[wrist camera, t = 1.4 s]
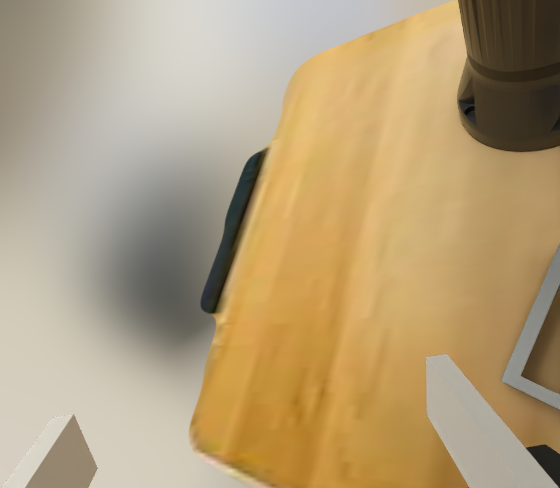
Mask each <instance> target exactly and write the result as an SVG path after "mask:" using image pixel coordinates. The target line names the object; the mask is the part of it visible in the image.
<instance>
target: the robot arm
mask: <svg viewBox="0 0 560 488" xmlns="http://www.w3.org/2000/svg"><path fill="white" fill-rule="evenodd" d="M458 2H459V8H460V14H461V20H462V26H463V32H464V38H465V44H466V49H467V59H466V63H465V67H464V70H463V74H462V77H461V81H460V84H459V88H458V95H457V104H458V109H459V114H460V118H461V121H462V124H463V126H464V127H465V129H466V130H467V132H468V133H469V134H470V135H471V136H472V137H474V138H475V139H476V140H478V141H480V142H481V143H483V144H486V145H488V146H491V147H494V148H498V149H503V150H510V151H531V150H540V149H545V148H550V147H554V146H558V145H560V0H458ZM426 385H427V416H428V418H429V420H430V421H431V423H432V425H433V426H434V428H435V430H436V432H437V433H438V435H439V437H440V438H441V440H442V442H443V443H444V445H445V447H446V449H447V450H448V452H449V454H450V455H451V457H452V459H453V460H454V462H455V464H456V466H457V467H458V469H459V471H460V472H461V474H462V476H463V478H464V479H465V481H466V483H467V484H468V486H469V488H560V454H559V453H557V452H556V451H554V450H553V449H551V448H550V447H548V446H547V445H539V446H533V447H527V448H525V447H524V446H523V444H522V443H521V442H520V441H519V440H518V438H517V437H516V436H515V435H514V434H513V432H512V431H511V430H510V429H509V428H508V426H507V425H506V424H505V423H504V422H503V421H502V419H501V418H500V417H499V416H498V415H497V413H496V412H495V411H494V410H493V409H492V407H491V406H490V405H489V404H488V403H487V401H486V400H485V399H484V398H483V397H482V395H481V394H480V393H479V392H478V391H477V389H476V388H475V387H474V386H473V385H472V384H471V382H470V381H469V380H468V379H467V378H466V376H465V375H464V374H463V373H462V372H461V370H460V369H459V368H458V367H457V366H456V364H455V363H454V362H453V361H452V360H451V358H450V357H449V356H448V355H447V354H443V355H436V356H430V357H426ZM97 469H98V468H97V466H96V464H95V461H94V459H93V457H92V455H91V452H90V450H89V448H88V446H87V443H86V441H85V439H84V436H83V434H82V432H81V430H80V427H79V425H78V423H77V421H76V418H75V416H74V414H70V415H64V416H58V417H53V418H52V419H51V421H50V422H49V423H48V425H47V426H46V428H45V429H44V430H43V432H42V433H41V434H40V436H39V437H38V439H37V440H36V441H35V443H34V444H33V446H32V447H31V448H30V450H29V451H28V452H27V454H26V455H25V456H24V458H23V459H22V461H21V462H20V463H19V465H18V466H17V467H16V469H15V470H14V472H13V473H12V474H11V476H10V477H9V479H8V480H7V481H6V483H5V484H4V485H3V487H2V488H88V487H89V485H90V483H91V481H92V479H93V477H94V475H95V472H96V471H97Z"/></svg>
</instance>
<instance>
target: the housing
mask: <svg viewBox="0 0 560 488" xmlns="http://www.w3.org/2000/svg"><path fill="white" fill-rule="evenodd" d="M559 286H560V244H559V246H558V249H557V251H556V253H555V256H554V258H553V260H552V263H551V265H550V267H549V270H548V272H547V274H546V277H545V279H544V281H543V284H542V286H541V288H540V291H539V293H538V295H537V298H536V300H535V302H534V305H533V307H532V309H531V312H530V314H529V316H528V319H527V321H526V323H525V326H524V328H523V330H522V333H521V335H520V337H519V340H518V342H517V344H516V347H515V349H514V351H513V354H512V356H511V358H510V361H509V363H508V365H507V368H506V370H505V372H504V375H503V377H502V379H501V381H502V382H504V383H506V384H508V385H510V386H512V387H514V388H516V389H518V390H520V391H522V392H524V393H526V394H528V395H530V396H532V397H534V398H536V399H539V400H541V401H543V402H545V403H547V404H549V405H551V406H553V407H555V408H557V409H559V410H560V395H559V394H557V393H555V392H553V391H551V390H549V389H547V388H544V387H542V386H540V385H538V384H536V383H534V382H532V381H530V380H528V379H525V378H523V377H521V375H522V373H523V371H524V368H525V366H526V364H527V361H528V359H529V356H530V354H531V352H532V349H533V347H534V345H535V342H536V340H537V338H538V335H539V333H540V331H541V328H542V326H543V324H544V321H545V319H546V317H547V314H548V312H549V309H550V307H551V305H552V302H553V300H554V298H555V295H556V293H557V291H558V288H559Z"/></svg>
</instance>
